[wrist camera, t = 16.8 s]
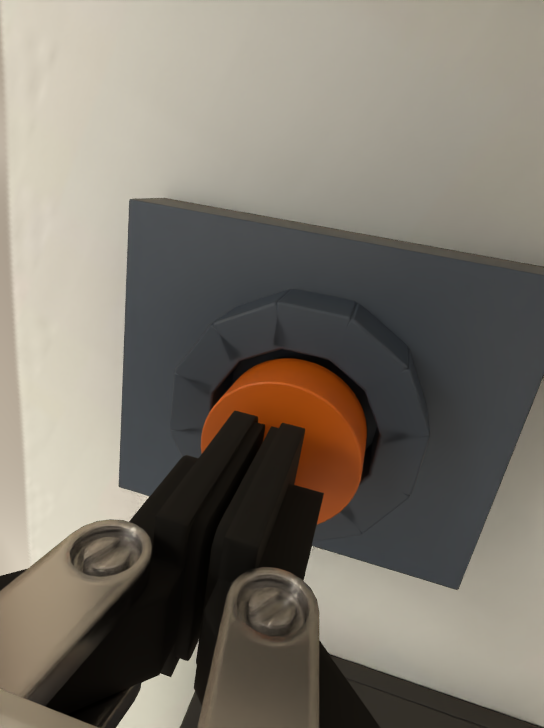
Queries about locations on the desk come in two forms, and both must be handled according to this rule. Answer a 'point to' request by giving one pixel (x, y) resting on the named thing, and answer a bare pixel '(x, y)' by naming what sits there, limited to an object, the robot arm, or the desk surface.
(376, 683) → the dark grey box
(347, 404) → the button
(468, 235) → the desk surface
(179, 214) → the control block
